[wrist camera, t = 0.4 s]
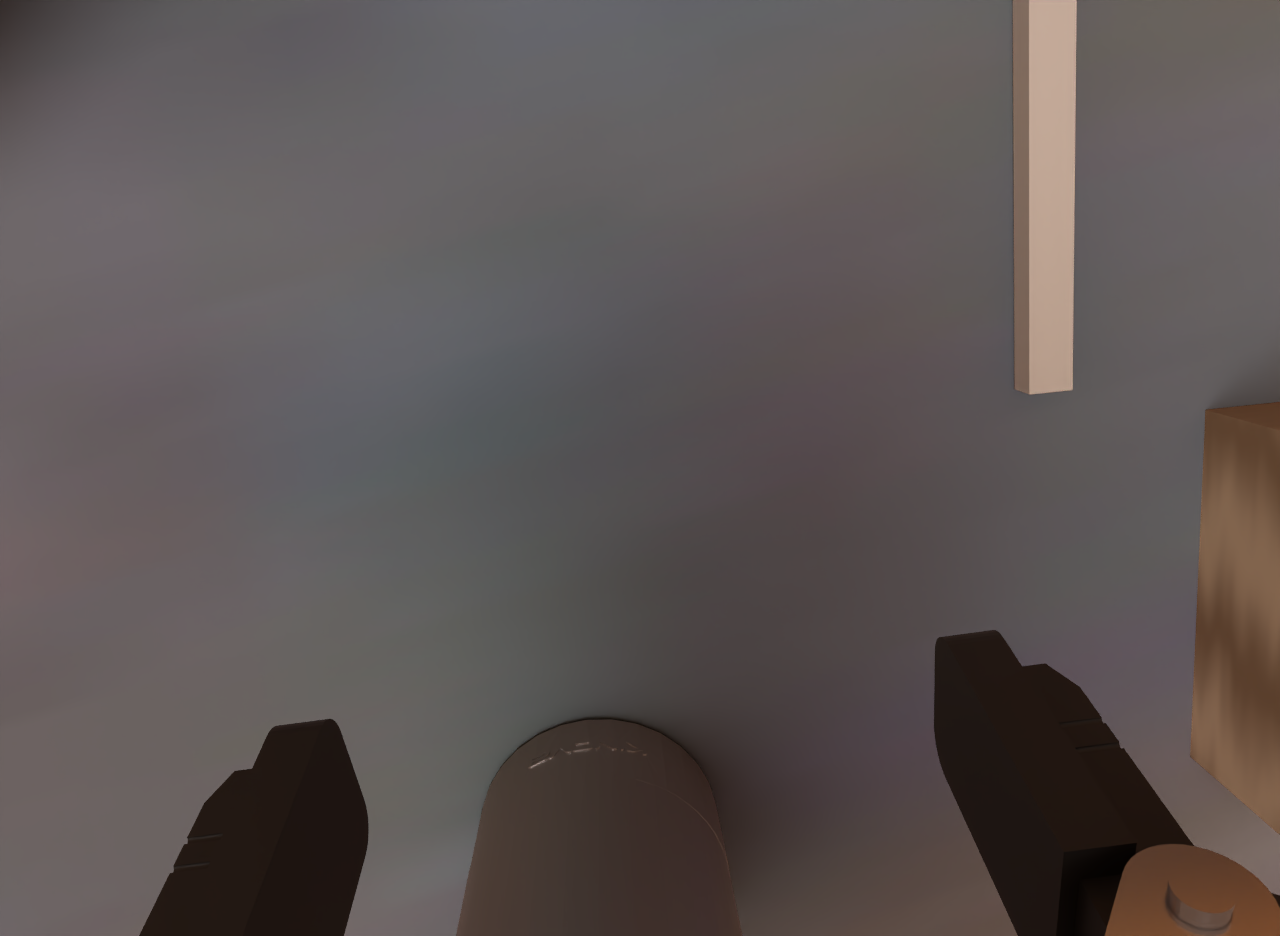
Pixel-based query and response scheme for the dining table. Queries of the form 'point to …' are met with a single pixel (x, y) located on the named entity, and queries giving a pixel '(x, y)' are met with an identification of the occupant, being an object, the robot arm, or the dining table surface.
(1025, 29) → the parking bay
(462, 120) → the dining table surface
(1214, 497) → the wooden block
